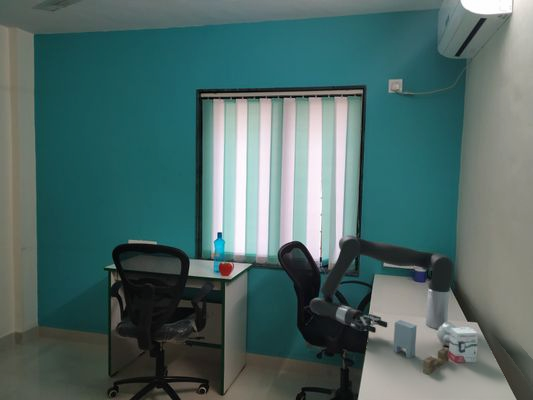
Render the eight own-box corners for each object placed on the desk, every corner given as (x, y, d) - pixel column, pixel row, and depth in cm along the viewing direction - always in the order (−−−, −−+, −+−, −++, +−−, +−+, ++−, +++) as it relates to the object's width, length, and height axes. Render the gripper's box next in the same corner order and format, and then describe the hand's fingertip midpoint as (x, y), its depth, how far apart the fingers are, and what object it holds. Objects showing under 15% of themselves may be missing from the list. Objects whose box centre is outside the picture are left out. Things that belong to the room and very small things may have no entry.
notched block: (398, 348, 165) (400, 320, 164) (414, 355, 160) (416, 325, 159) (393, 351, 163) (394, 322, 162) (409, 358, 158) (411, 328, 156)
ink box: (455, 363, 155) (457, 333, 154) (448, 357, 160) (450, 327, 158) (476, 362, 156) (478, 332, 155) (468, 356, 161) (470, 327, 160)
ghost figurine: (432, 345, 170) (433, 321, 169) (442, 338, 176) (443, 316, 175) (454, 352, 163) (455, 328, 162) (463, 346, 170) (465, 322, 169)
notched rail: (443, 358, 158) (444, 347, 158) (448, 360, 157) (449, 349, 156) (422, 372, 147) (423, 360, 147) (428, 374, 146) (429, 362, 145)
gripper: (339, 311, 176) (371, 323, 164) (359, 304, 185) (391, 314, 173) (338, 328, 176) (370, 341, 164) (358, 320, 186) (390, 332, 174)
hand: (381, 327), depth 169 cm, fingers open, 8 cm apart
